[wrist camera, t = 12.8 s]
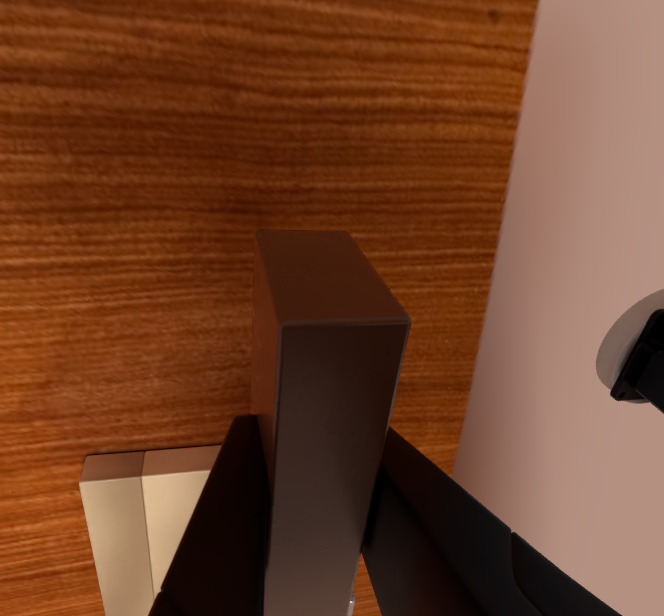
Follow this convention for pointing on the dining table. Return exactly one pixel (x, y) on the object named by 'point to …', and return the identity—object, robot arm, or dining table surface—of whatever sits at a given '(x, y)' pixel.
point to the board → (140, 518)
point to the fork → (320, 409)
